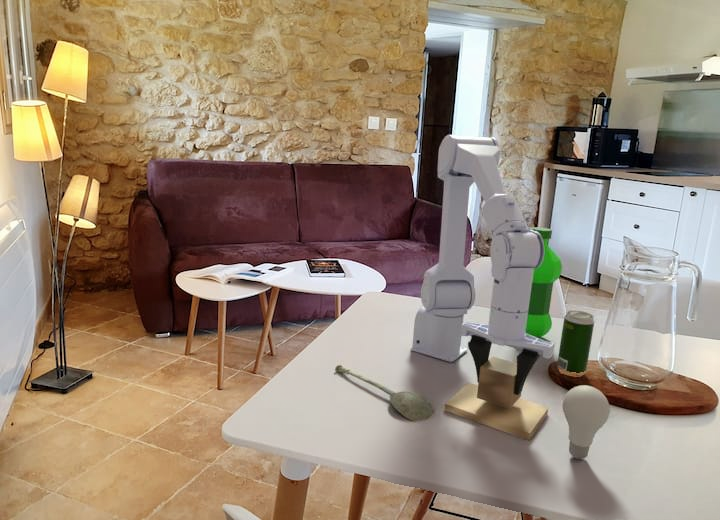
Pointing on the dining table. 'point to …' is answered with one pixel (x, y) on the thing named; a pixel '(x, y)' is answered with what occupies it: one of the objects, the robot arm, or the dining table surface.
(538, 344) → the robot arm
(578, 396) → the lightbulb
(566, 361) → the beer can
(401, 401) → the soupspoon
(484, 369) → the tan cube
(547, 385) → the dining table surface
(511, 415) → the oak board
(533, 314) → the plastic bottle
